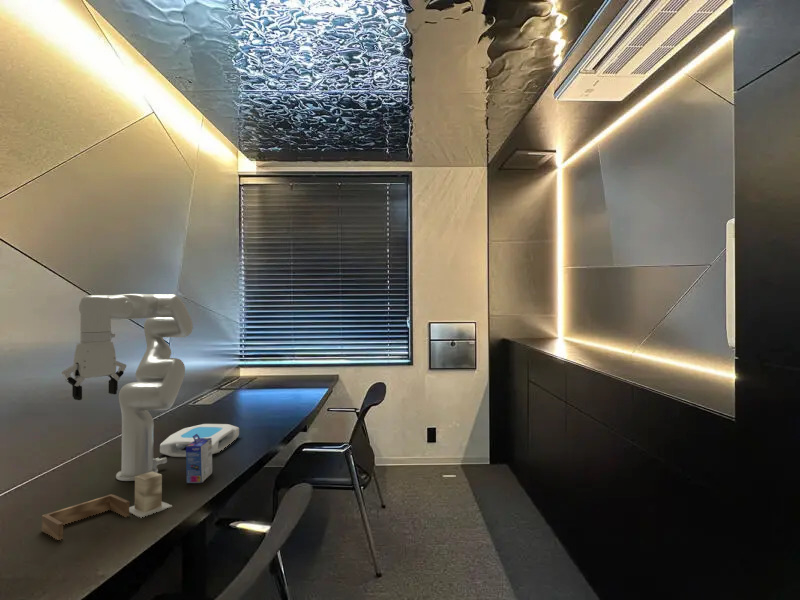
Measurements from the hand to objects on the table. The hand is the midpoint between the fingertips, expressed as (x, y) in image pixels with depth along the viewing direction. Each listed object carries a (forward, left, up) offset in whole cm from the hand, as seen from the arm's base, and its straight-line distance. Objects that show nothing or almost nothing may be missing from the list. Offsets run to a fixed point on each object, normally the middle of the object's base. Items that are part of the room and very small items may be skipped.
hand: (95, 396), depth 140 cm
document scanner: (-53, -26, -32) cm, 67 cm away
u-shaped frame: (+7, +12, -31) cm, 34 cm away
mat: (-7, +16, -31) cm, 36 cm away
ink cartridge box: (-30, +6, -31) cm, 44 cm away
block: (-7, +16, -31) cm, 35 cm away
